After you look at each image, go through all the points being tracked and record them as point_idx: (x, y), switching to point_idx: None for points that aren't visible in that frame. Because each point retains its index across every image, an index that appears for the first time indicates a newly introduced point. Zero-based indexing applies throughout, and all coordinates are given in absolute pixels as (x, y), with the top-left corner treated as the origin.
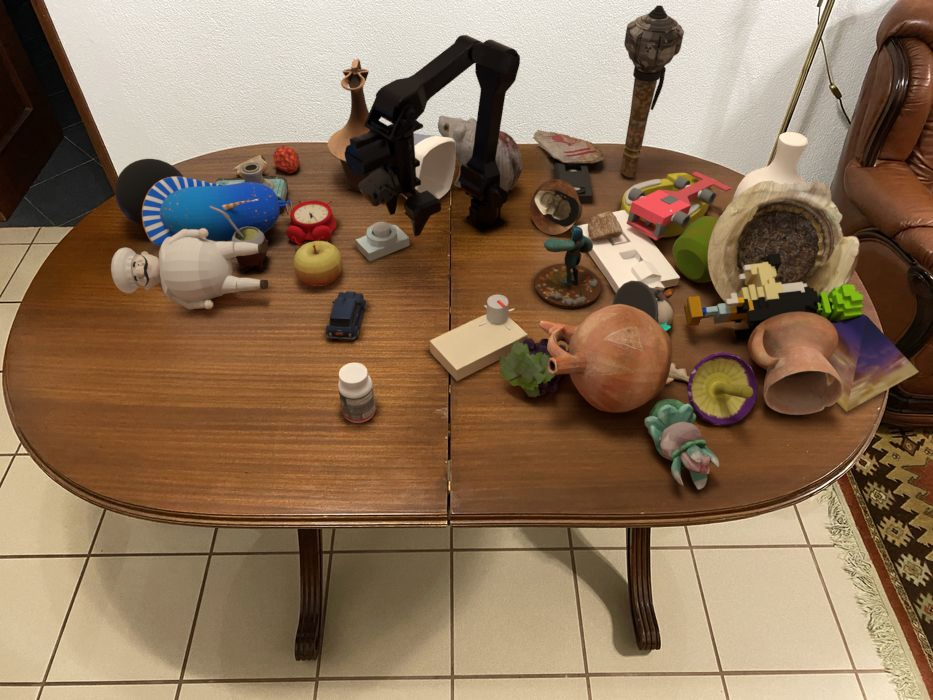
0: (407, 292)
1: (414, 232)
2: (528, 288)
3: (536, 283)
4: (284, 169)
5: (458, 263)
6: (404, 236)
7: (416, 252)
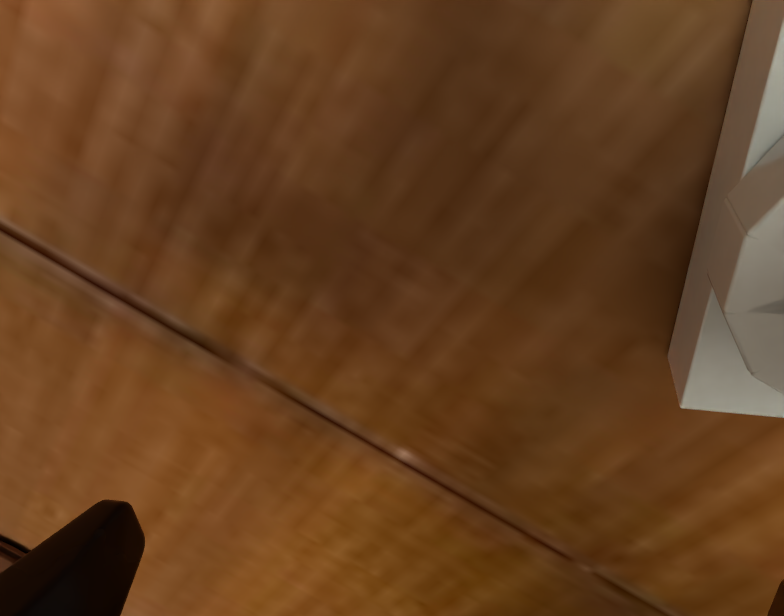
0: (171, 36)
1: (42, 554)
2: (15, 525)
3: (4, 563)
4: None
5: (309, 447)
6: (723, 392)
7: (563, 346)
